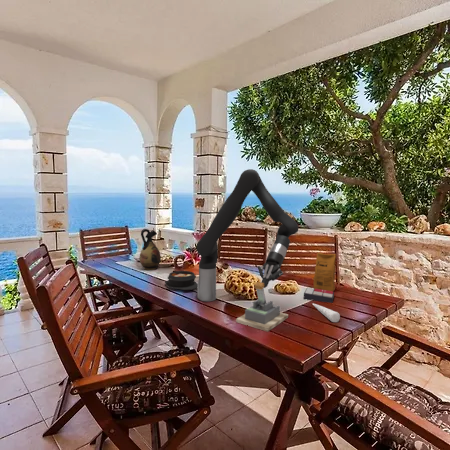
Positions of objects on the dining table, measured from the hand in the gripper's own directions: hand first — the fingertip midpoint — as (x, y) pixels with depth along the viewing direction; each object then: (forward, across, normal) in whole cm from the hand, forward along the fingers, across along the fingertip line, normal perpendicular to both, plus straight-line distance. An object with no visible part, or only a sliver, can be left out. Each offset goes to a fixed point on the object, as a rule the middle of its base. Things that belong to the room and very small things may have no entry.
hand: (263, 286), depth 145 cm
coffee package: (-32, +6, +55) cm, 64 cm away
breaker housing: (+10, 0, +10) cm, 14 cm away
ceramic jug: (-11, -115, +33) cm, 120 cm away
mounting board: (+11, 0, +11) cm, 15 cm away
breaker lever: (+6, 0, +6) cm, 8 cm away
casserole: (+2, -64, +20) cm, 67 cm away
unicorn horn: (-6, +19, +29) cm, 35 cm away
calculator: (-21, +9, +44) cm, 49 cm away
